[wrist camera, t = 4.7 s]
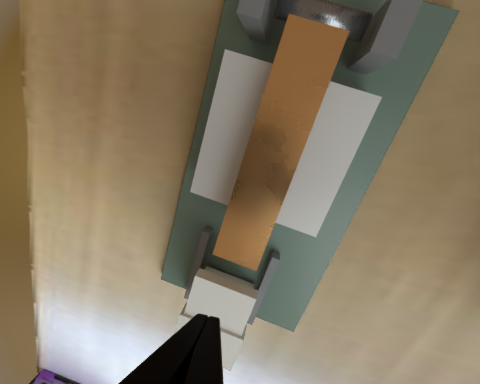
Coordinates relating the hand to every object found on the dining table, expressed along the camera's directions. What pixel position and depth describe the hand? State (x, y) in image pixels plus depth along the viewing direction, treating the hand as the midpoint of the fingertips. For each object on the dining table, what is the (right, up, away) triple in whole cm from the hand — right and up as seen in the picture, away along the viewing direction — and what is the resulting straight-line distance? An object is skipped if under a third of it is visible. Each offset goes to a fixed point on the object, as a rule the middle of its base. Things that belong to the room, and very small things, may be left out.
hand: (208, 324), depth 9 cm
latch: (0, -2, +12) cm, 12 cm away
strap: (+3, +7, +6) cm, 10 cm away
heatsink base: (+3, +6, +10) cm, 12 cm away
